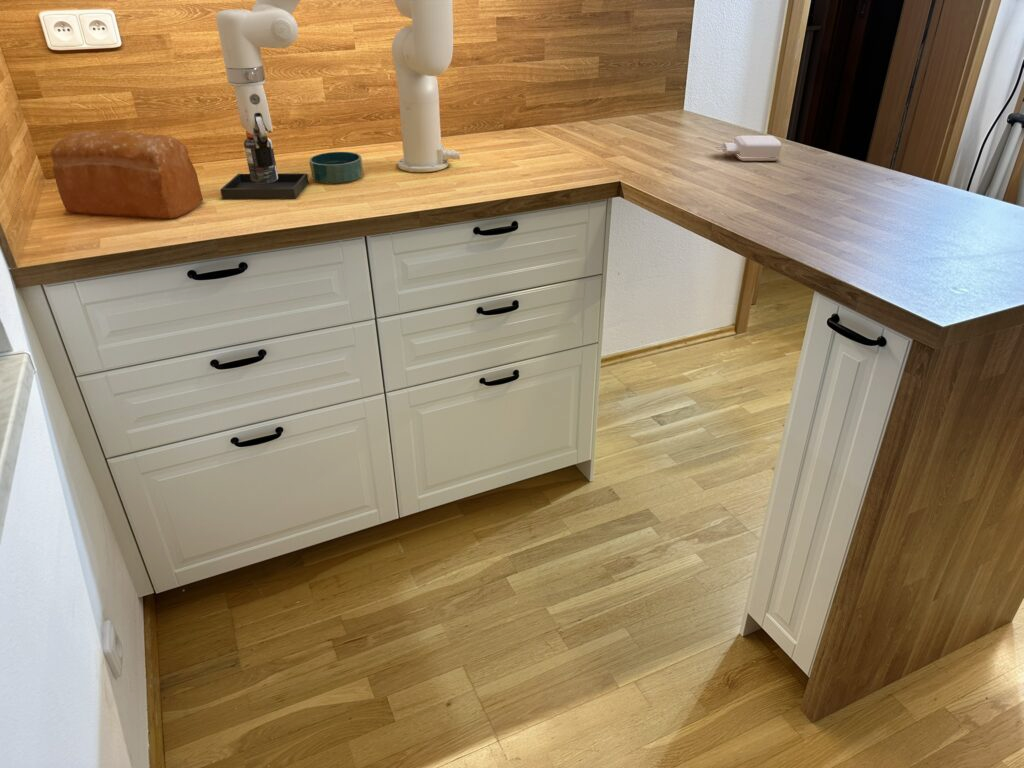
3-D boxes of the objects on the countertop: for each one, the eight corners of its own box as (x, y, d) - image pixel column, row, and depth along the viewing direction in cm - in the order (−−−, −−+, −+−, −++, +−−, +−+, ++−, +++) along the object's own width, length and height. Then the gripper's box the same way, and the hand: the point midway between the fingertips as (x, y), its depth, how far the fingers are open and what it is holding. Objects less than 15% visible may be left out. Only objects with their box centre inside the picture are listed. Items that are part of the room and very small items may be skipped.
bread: (102, 195, 164) (79, 122, 155) (209, 201, 160) (192, 127, 151) (59, 215, 152) (32, 137, 144) (173, 222, 148) (153, 143, 140)
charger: (710, 152, 192) (768, 152, 192) (718, 162, 184) (778, 162, 184) (713, 134, 190) (771, 134, 190) (721, 143, 182) (782, 143, 182)
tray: (308, 182, 171) (307, 173, 170) (295, 198, 161) (294, 189, 160) (239, 182, 171) (237, 173, 170) (222, 199, 161) (220, 189, 160)
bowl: (367, 170, 180) (365, 151, 177) (358, 184, 170) (356, 165, 167) (318, 170, 180) (315, 151, 177) (306, 184, 170) (303, 165, 167)
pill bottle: (282, 176, 167) (273, 125, 161) (272, 184, 162) (263, 132, 156) (257, 176, 167) (247, 125, 161) (246, 183, 162) (236, 131, 156)
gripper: (274, 80, 148) (288, 169, 158) (254, 68, 161) (268, 151, 171) (236, 83, 145) (253, 174, 155) (219, 71, 158) (235, 156, 167)
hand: (261, 161), depth 162 cm, fingers closed on pill bottle, 6 cm apart
